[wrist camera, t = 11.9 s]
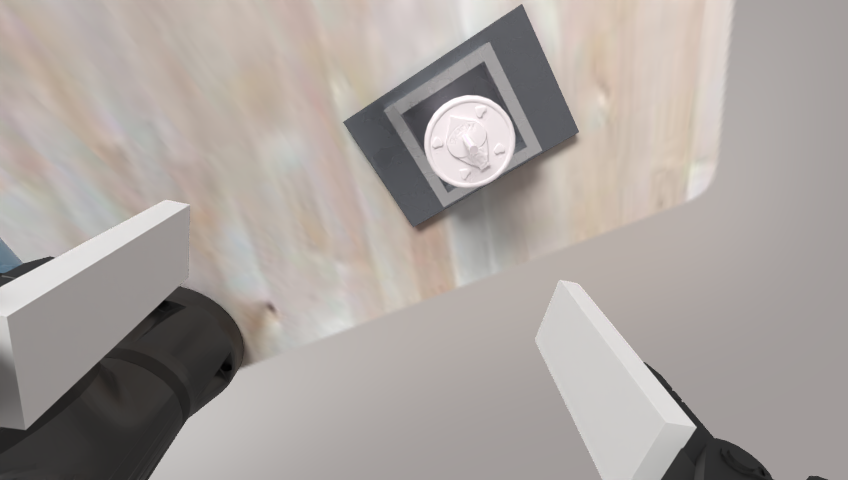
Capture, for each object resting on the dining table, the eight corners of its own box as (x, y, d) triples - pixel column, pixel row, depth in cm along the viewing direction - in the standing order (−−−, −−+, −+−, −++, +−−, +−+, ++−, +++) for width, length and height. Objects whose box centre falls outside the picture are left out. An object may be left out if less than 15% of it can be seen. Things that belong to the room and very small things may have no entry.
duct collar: (413, 223, 42) (412, 236, 38) (345, 120, 38) (338, 125, 34) (575, 130, 38) (589, 136, 35) (519, 5, 34) (529, -1, 31)
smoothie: (467, 73, 35) (496, 76, 22) (506, 133, 37) (552, 168, 24) (408, 118, 37) (403, 146, 24) (449, 174, 39) (464, 227, 26)
